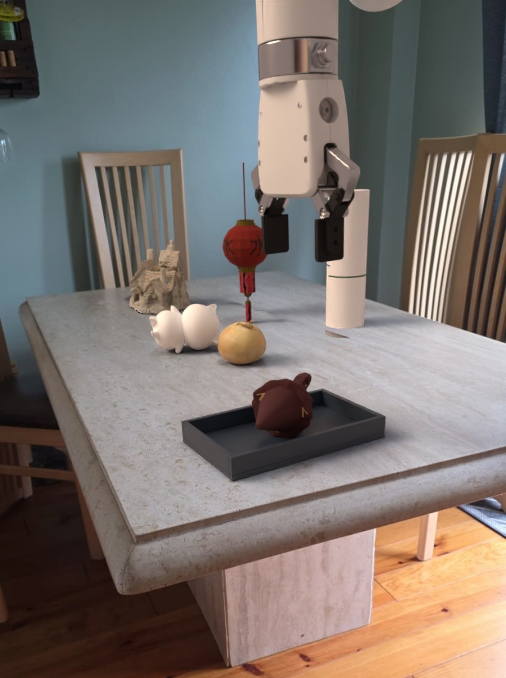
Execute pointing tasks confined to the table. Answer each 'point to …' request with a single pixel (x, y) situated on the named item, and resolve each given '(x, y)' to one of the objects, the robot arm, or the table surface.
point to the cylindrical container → (349, 270)
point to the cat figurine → (186, 327)
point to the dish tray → (273, 452)
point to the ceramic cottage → (159, 283)
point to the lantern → (245, 253)
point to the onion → (241, 343)
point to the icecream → (283, 406)
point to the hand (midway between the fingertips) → (301, 256)
